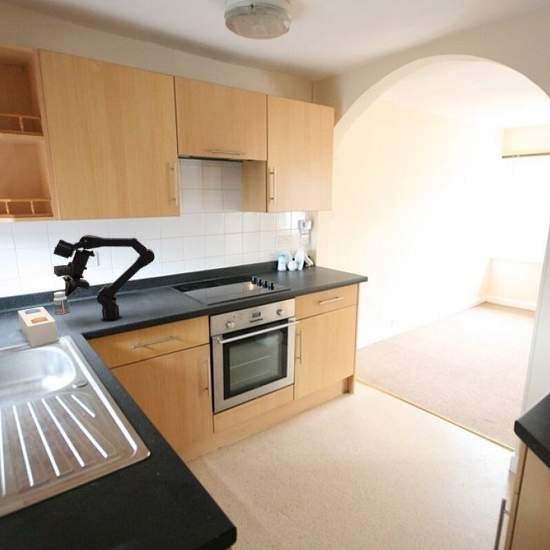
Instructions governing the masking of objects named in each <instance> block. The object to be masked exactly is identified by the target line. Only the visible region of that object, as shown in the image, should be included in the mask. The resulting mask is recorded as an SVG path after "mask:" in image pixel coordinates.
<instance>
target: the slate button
mask: <svg viewBox="0 0 550 550" xmlns="http://www.w3.org/2000/svg"><path fill="white" fill-rule="evenodd" d="M30 309H31V310H27V311H26V313H27V314H31V313H37V312H39V309H32V308H30Z"/></svg>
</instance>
